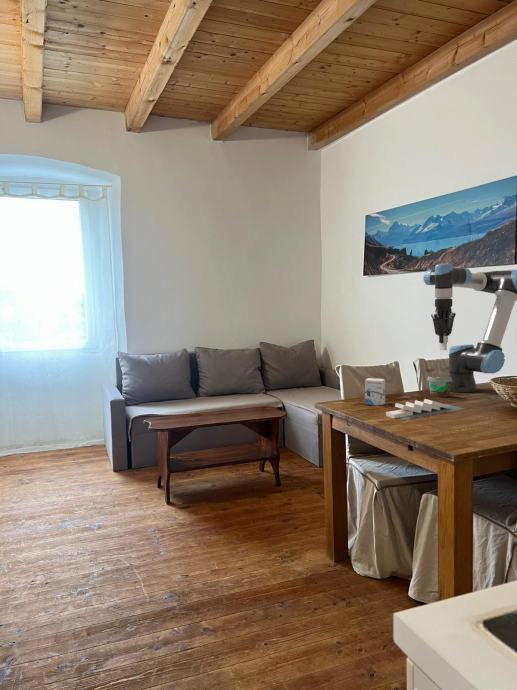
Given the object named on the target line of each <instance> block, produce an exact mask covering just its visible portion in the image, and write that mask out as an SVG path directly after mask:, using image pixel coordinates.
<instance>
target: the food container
mask: <svg viewBox="0 0 517 690" xmlns="http://www.w3.org/2000/svg"><path fill="white" fill-rule="evenodd" d="M448 377H449V376H448ZM448 377H442V376H431V375H430V374H428V376H427V379H426V380H427V381H428V387H429V396H430V397H431V398H433V397H436V398H447V397H450V394H451V391H450V387H451V382H452V378H451V377H449V378H448Z"/></svg>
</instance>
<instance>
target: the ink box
mask: <svg viewBox="0 0 517 690" xmlns="http://www.w3.org/2000/svg"><path fill="white" fill-rule="evenodd" d="M364 405H365V406H366V405H367V406H381V405H382V406H383V405H386V379H385V378H373V377H372V378H369V377H368V378H366V379H364Z"/></svg>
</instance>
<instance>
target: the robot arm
mask: <svg viewBox="0 0 517 690" xmlns="http://www.w3.org/2000/svg"><path fill="white" fill-rule="evenodd" d="M423 282H424V283H425V285H426V286H434V298H435V299H434V307H435V310H434V313H432V314H431V315H430V317H431V319H432V323H433V327H434V328H433V329H434V334H435V336H438V342H439V350H440V351H447V350H449V352H448V353H449V354H448V366H449V367H448V377H447V378H449V377H451V378H452V382H451V387H450V392H453V393H473V392H474V393H475V392H477V391H478V385H477V382H476V379H475V375H474V372H476V373H483V374H492V375H493V374H497V373H498V372H500V371H501V370H502V369H503V367H504V364H505V361H506V359H505V353H504V352H503V350H504V349H503V347H502V345H501V344H502V341H503V339H504V335H505V333H506V329H507V326H508V324H509V321H510V318H511V314H512V312H513V308H514V305H515V302H517V269H511V270H507V269H506V270H492V271H483V272H482V271H481V272H480V271H478V272H475V273H474V272H473V273H472V272H471V270H470V269H469V268H467V267H454V266H453V264H452V263H438V264H436V265H435V266H434V269H433V268H432V269H427V270H426V271H425V272H424V274H423ZM453 287H454V288H463V289H472V290H473V291H476V292H482V293H488V294H494V295H495V297H496V298H495V300H494V301H495V302H494V304H493V307H492V310H491V313H490V316H489V319H488V322H487V325H486V328H485V331H484V334H483V336H482V339H481V340H480V341H478V342H477V344H476V346H475V345H474V344H472V343H471V344H459V345H452V346H450V348H449V349H448V347H447V345H448V340H449V339H448V337H449V336H450V335H451V334H452V332H453V325H454V322H455V317H456V315H457V314H456V312H453V309H452V306H453Z"/></svg>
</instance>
